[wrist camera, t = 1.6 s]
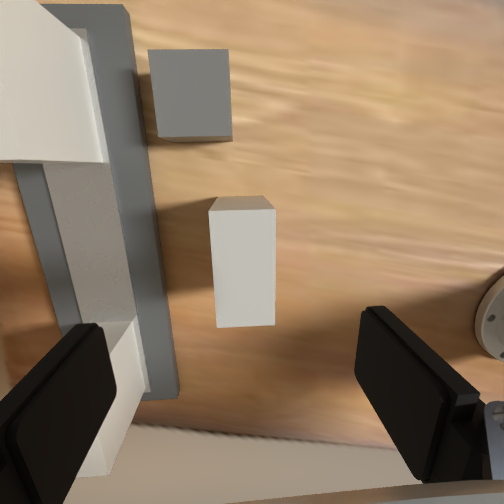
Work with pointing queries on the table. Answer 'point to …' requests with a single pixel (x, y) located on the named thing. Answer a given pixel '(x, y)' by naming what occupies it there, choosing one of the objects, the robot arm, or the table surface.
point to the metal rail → (95, 228)
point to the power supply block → (192, 94)
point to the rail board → (128, 188)
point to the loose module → (243, 260)
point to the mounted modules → (61, 151)
